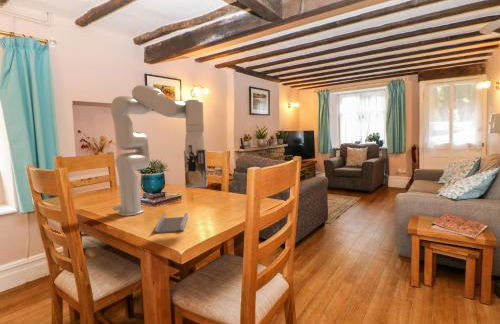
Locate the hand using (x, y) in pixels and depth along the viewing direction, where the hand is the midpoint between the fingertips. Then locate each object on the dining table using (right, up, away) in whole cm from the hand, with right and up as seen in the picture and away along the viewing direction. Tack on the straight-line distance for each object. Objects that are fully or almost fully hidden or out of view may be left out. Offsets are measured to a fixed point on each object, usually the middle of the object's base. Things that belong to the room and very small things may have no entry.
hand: (196, 169), depth 121 cm
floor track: (-11, -25, +3) cm, 28 cm away
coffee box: (0, -8, +1) cm, 8 cm away
